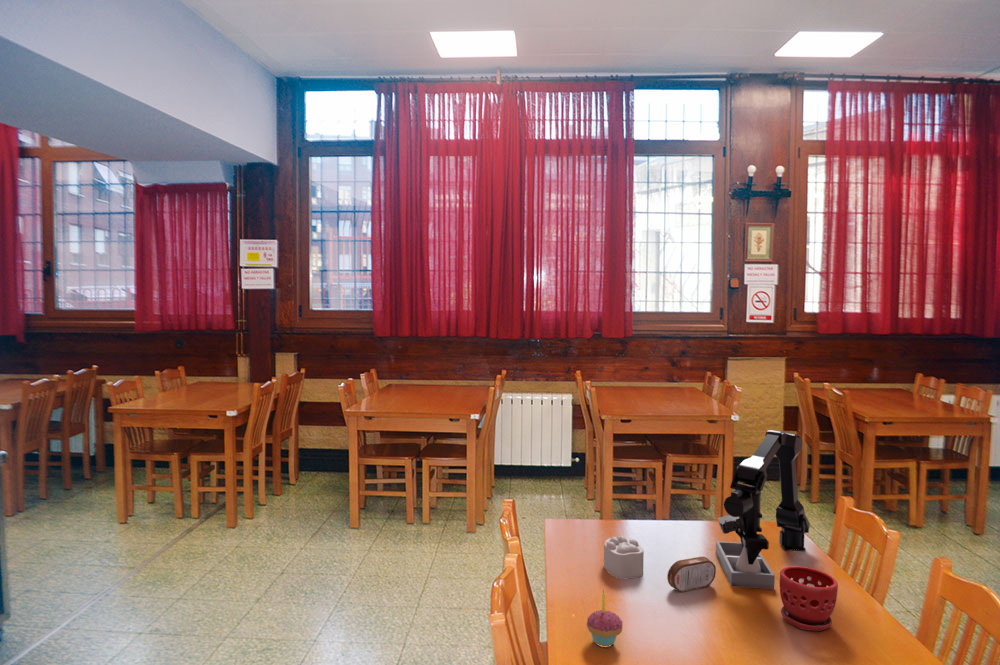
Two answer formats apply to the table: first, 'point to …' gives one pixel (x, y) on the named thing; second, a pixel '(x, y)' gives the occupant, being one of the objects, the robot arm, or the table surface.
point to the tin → (691, 574)
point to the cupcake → (604, 625)
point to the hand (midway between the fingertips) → (748, 560)
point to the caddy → (728, 560)
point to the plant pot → (807, 597)
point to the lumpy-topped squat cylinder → (623, 557)
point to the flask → (747, 564)
